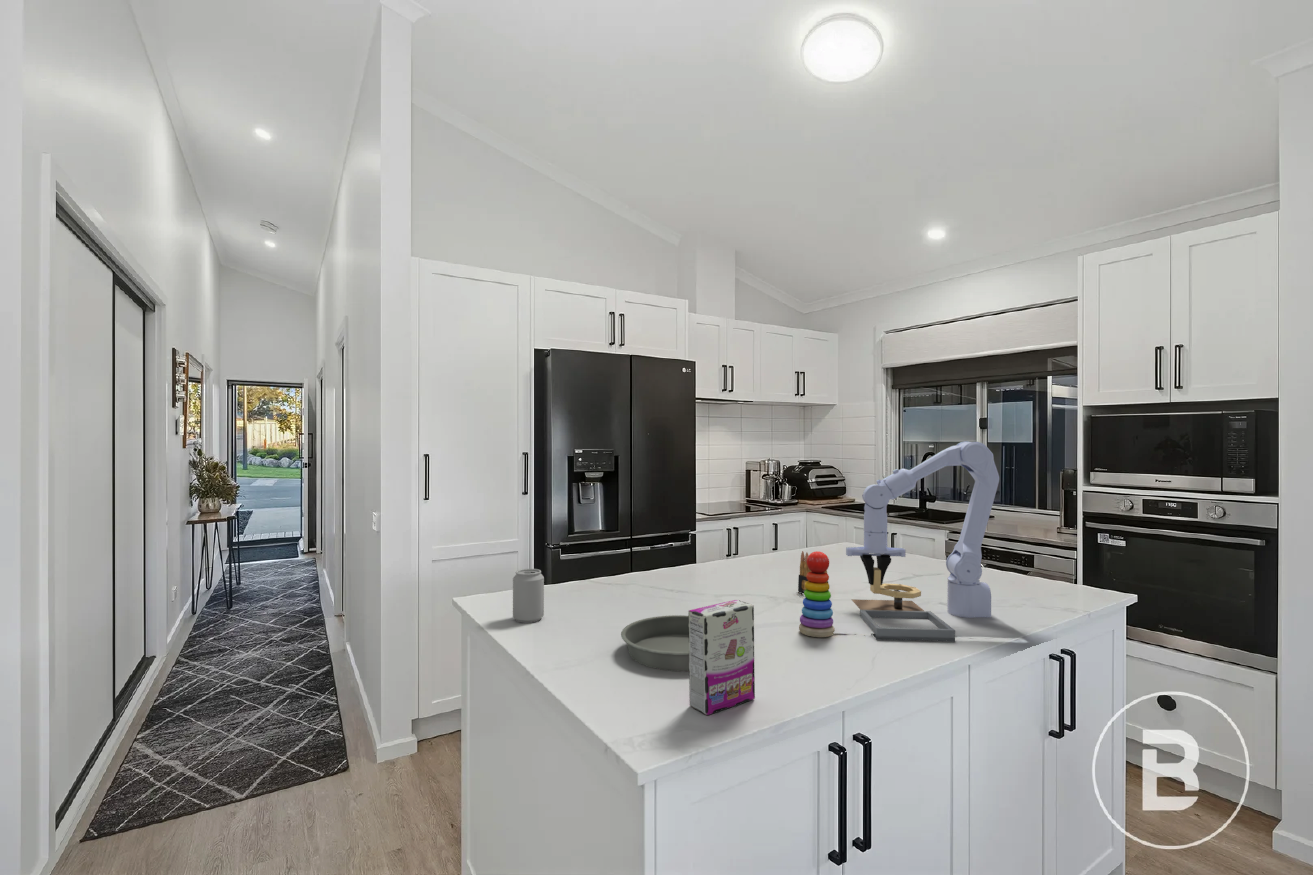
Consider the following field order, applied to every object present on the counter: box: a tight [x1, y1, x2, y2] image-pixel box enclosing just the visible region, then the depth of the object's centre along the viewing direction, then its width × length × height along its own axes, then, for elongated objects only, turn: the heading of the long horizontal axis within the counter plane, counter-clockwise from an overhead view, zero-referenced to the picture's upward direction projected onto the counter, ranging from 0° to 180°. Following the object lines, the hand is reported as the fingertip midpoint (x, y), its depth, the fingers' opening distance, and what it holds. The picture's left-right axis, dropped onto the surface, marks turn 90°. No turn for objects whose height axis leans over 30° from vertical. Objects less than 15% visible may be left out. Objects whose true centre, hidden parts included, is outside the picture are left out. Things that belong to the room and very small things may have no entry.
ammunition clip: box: [797, 550, 830, 594], centre depth 178 cm, size 11×2×12 cm, turn 28°
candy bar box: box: [687, 599, 756, 716], centre depth 107 cm, size 11×5×16 cm, turn 126°
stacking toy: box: [798, 551, 836, 638], centre depth 144 cm, size 8×8×19 cm
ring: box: [869, 566, 922, 599], centre depth 162 cm, size 12×10×6 cm
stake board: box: [851, 599, 925, 611], centre depth 163 cm, size 16×14×1 cm
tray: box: [859, 609, 956, 643], centre depth 147 cm, size 17×15×2 cm
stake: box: [893, 590, 903, 610], centre depth 162 cm, size 2×4×4 cm, turn 176°
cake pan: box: [620, 614, 689, 672], centre depth 132 cm, size 25×25×4 cm
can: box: [512, 568, 545, 624], centre depth 155 cm, size 8×8×12 cm
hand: (875, 584), depth 162 cm, fingers closed on ring
